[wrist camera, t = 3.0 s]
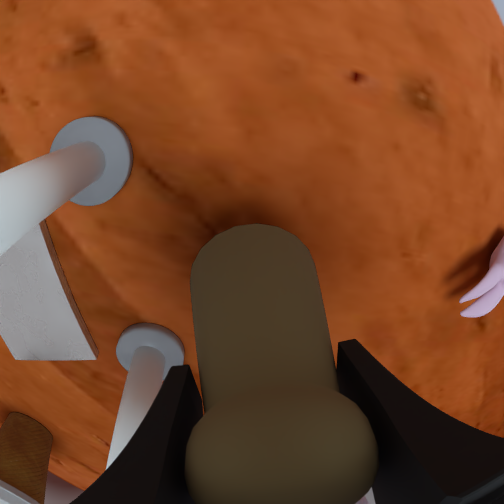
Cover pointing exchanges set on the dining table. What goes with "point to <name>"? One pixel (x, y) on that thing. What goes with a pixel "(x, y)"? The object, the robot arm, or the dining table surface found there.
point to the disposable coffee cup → (23, 460)
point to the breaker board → (40, 303)
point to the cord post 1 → (65, 176)
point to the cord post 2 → (142, 376)
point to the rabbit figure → (487, 287)
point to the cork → (270, 380)
